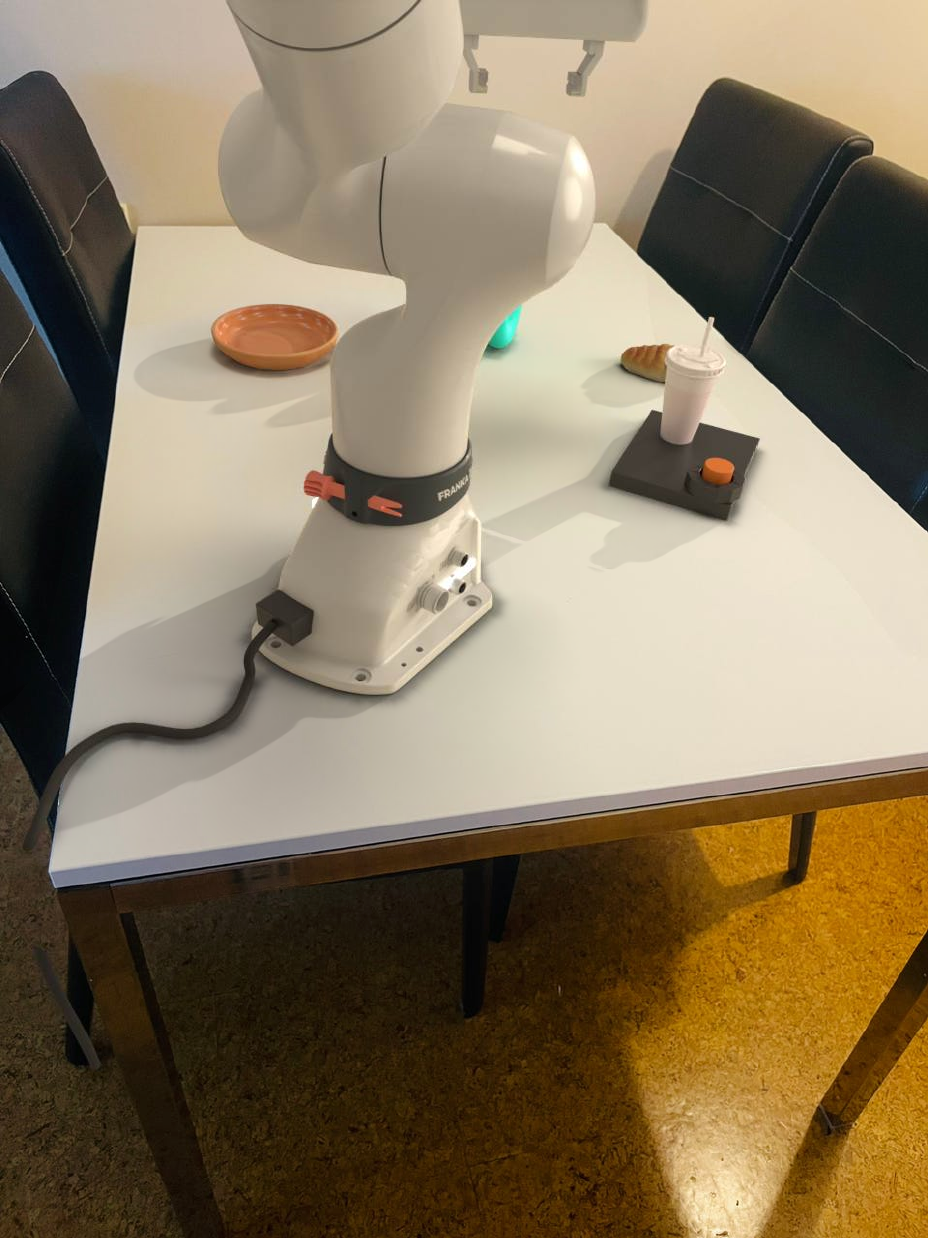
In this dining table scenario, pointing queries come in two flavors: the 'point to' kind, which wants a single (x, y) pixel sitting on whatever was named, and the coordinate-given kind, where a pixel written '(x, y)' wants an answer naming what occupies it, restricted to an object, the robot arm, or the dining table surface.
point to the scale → (684, 467)
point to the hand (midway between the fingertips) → (526, 93)
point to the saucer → (274, 335)
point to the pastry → (647, 361)
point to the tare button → (717, 471)
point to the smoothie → (688, 387)
